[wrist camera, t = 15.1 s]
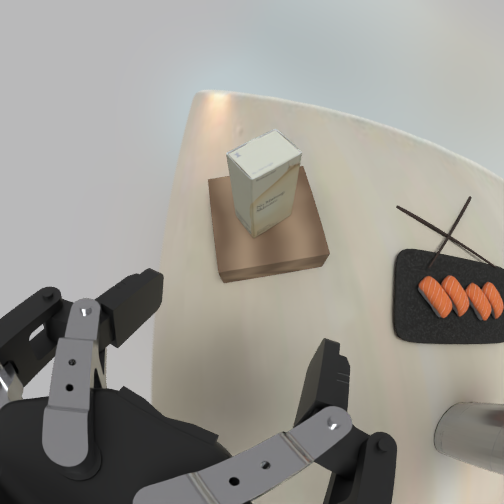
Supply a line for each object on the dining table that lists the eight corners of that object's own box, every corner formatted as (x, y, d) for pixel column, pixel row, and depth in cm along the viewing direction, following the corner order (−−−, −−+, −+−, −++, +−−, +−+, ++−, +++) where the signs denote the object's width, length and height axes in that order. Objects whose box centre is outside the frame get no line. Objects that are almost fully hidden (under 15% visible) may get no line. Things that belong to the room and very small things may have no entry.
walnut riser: (299, 185, 44) (303, 166, 39) (321, 266, 38) (329, 253, 34) (213, 197, 43) (208, 179, 38) (223, 283, 38) (218, 272, 33)
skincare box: (253, 239, 35) (250, 183, 23) (234, 214, 36) (223, 153, 25) (293, 214, 36) (304, 152, 25) (272, 191, 37) (275, 126, 26)
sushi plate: (387, 342, 34) (399, 340, 31) (385, 172, 45) (392, 159, 41) (505, 343, 32) (518, 340, 28) (491, 205, 42) (500, 197, 39)
